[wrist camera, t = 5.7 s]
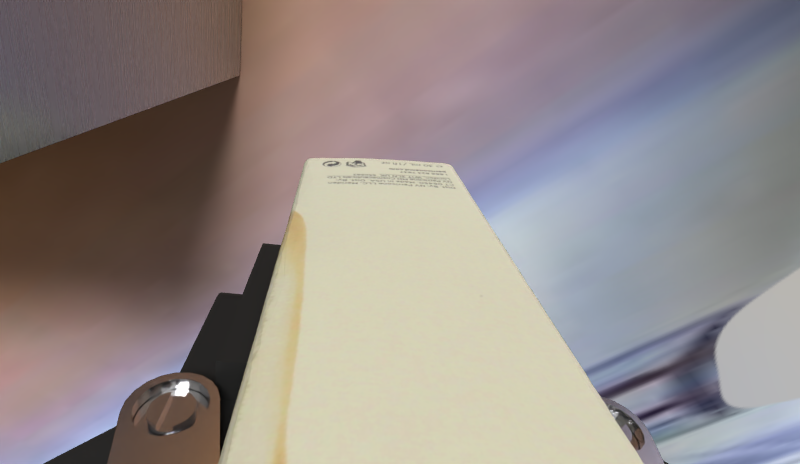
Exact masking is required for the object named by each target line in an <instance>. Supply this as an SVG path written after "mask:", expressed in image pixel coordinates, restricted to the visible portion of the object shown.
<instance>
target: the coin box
mask: <svg viewBox="0 0 800 464" xmlns="http://www.w3.org/2000/svg"><path fill="white" fill-rule="evenodd" d="M241 21H242V0H0V163H2V162H5V161H7V160H10V159H13V158H16V157H18V156H21V155H24V154H27V153H29V152H32V151H35V150H37V149H40V148H43V147H46V146H48V145H51V144H54V143H57V142H59V141H62V140H65V139H67V138H70V137H73V136H76V135H78V134H81V133H84V132H87V131H89V130H92V129H95V128H97V127H100V126H103V125H106V124H108V123H111V122H114V121H117V120H119V119H122V118H125V117H127V116H130V115H133V114H136V113H138V112H141V111H144V110H147V109H149V108H152V107H155V106H157V105H160V104H163V103H166V102H168V101H171V100H174V99H177V98H179V97H182V96H185V95H187V94H190V93H193V92H196V91H198V90H201V89H204V88H206V87H209V86H212V85H215V84H217V83H220V82H223V81H226V80H228V79H231V78H234V77H236V76H239V75H240V56H241Z"/></svg>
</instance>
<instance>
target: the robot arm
mask: <svg viewBox="0 0 800 464" xmlns="http://www.w3.org/2000/svg"><path fill="white" fill-rule="evenodd" d="M280 247H281V245H274V244H265V243H263V245H262V247H261V249H260V252H259V254H258V257H257V259H256V262H255V264H254V267H253V269H252V272H251V274H250V277H249V279H248V282H247V284H246V287H245V289H244V292H243V294H232V293H219V295H218V296H217V298H216V300H215V302H214V304H213V306H212V308H211V310H210V312H209V314H208V316H207V318H206V320H205V322H204V324H203V326H202V328H201V331H200V333H199V335H198V337H197V339H196V341H195V343H194V345H193V347H192V349H191V351H190V353H189V355H188V357H187V359H186V361H185V363H184V365H183V367H182V369H181V371H180V373H172V374H167V375H163V376H160V377H157V378H155V379H153V380H150V381H148V382H146V383H145V384H143V385H142V386H140V387H139V388H138V389H136V390H135V391H134V392H133V393H132V394H131V395H130V396H129V397H128V398H127V400H126V401H125V402H124V405H123V407H122V409H121V411H120V414H119V418H118V422H117V426H116V427H114V428H112V429H110V430H108V431H106V432H104V433H102V434H100V435H98V436H96V437H94V438H92V439H90V440H89V441H87V442H85V443H83V444H81V445H79V446H77V447H75V448H73V449H71V450H69V451H67V452H65V453H63V454H61V455H59V456H57V457H56V458H54V459H52V460H50V461H48V462H46V463H44V464H218V462H219V459H220V455H221V452H222V448H223V445H224V441H225V438H226V434H227V431H228V427H229V424H230V420H231V417H232V413H233V410H234V407H235V403H236V400H237V396H238V393H239V389H240V386H241V382H242V379H243V376H244V372H245V369H246V365H247V362H248V358H249V355H250V352H251V348H252V345H253V342H254V338H255V335H256V332H257V328H258V325H259V321H260V317H261V313H262V310H263V306H264V303H265V299H266V295H267V292H268V289H269V285H270V282H271V278H272V275H273V271H274V267H275V264H276V261H277V258H278V255H279V251H280ZM601 398H602V400H603V401H604V403H605V404H606V406H607V408H608V409H609V411H610V412H611V414H612V416H613V417H614V419H615V421H616V422H617V424H618V425H619V426H620V428H621V429H622V431H623V432H624V434H625V435H626V437H627V438H628V440H629V441H630V443H631V444H632V446H633V447H634V449H635V450H636V452H637V453H638V455H639V457H640V458H641V460H642V462H643V463H644V464H668V463H667V462H665V461H663V459H662V457H661V455H660V453H659V451H658V449H657V447H656V445H655V443H654V440H653V438H652V436H651V434H650V433H649V431H648V429H647V428H646V426H645V425H644V424H643V423H642V422H641V420H640V419H639V418H638V417H637V416H636V415H635V414H633V413H632V412H631V411H629V410H628V409H627V408H625V407H624V406H622V405H620V404H618V403H617V402H615V401H612V400H609V399H607V398H604V397H601Z"/></svg>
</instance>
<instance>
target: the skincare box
mask: <svg viewBox="0 0 800 464" xmlns="http://www.w3.org/2000/svg"><path fill="white" fill-rule="evenodd" d="M218 464H644V463H643V462H642V460H641V458H640V457H639V455H638V453H637V452H636V450H635V449H634V447H633V446H632V444H631V443H630V441H629V440H628V438H627V437H626V435H625V434H624V432H623V431H622V429H621V428H620V426H619V425H618V424H617V422H616V421H615V419H614V417H613V416H612V414H611V412H610V411H609V409H608V408H607V406H606V404H605V403H604V401H603V400H602V398H601V397H600V395H599V394H598V392H597V391H596V389H595V388H594V387H593V385H592V384H591V382H590V380H589V378H588V377H587V375H586V373H585V372H584V370H583V369H582V367H581V366H580V364H579V363H578V361H577V360H576V358H575V357H574V355H573V353H572V352H571V350H570V349H569V347H568V346H567V344H566V343H565V341H564V340H563V338H562V337H561V335H560V334H559V332H558V330H557V329H556V327H555V326H554V324H553V323H552V321H551V320H550V318H549V317H548V315H547V314H546V312H545V310H544V309H543V307H542V306H541V304H540V303H539V301H538V299H537V298H536V296H535V295H534V293H533V292H532V290H531V289H530V287H529V286H528V285H527V283H526V281H525V280H524V278H523V276H522V275H521V273H520V271H519V270H518V268H517V267H516V265H515V264H514V262H513V261H512V259H511V257H510V256H509V254H508V253H507V251H506V249H505V248H504V246H503V245H502V243H501V242H500V240H499V239H498V237H497V236H496V234H495V233H494V231H493V230H492V228H491V226H490V225H489V223H488V222H487V220H486V219H485V217H484V215H483V214H482V212H481V211H480V209H479V208H478V206H477V204H476V203H475V201H474V200H473V199H472V197H471V195H470V194H469V192H468V190H467V189H466V187H465V186H464V184H463V183H462V181H461V180H460V178H459V177H458V175H457V173H456V172H455V170H454V169H453V167H452V166H451V165H449V164H445V163H431V162H417V161H402V160H384V159H363V158H310V159H308V160H306V162H305V164H304V167H303V171H302V174H301V178H300V181H299V185H298V189H297V192H296V196H295V199H294V203H293V206H292V210H291V213H290V217H289V221H288V224H287V228H286V232H285V235H284V238H283V241H282V244H281V247H280V251H279V255H278V258H277V261H276V264H275V267H274V271H273V275H272V278H271V282H270V285H269V289H268V292H267V295H266V299H265V303H264V306H263V310H262V313H261V317H260V321H259V325H258V328H257V332H256V335H255V338H254V342H253V345H252V348H251V352H250V355H249V358H248V362H247V365H246V369H245V372H244V376H243V379H242V382H241V386H240V389H239V393H238V396H237V400H236V403H235V407H234V410H233V413H232V417H231V420H230V424H229V427H228V431H227V434H226V438H225V441H224V445H223V448H222V452H221V455H220V459H219V462H218Z"/></svg>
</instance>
